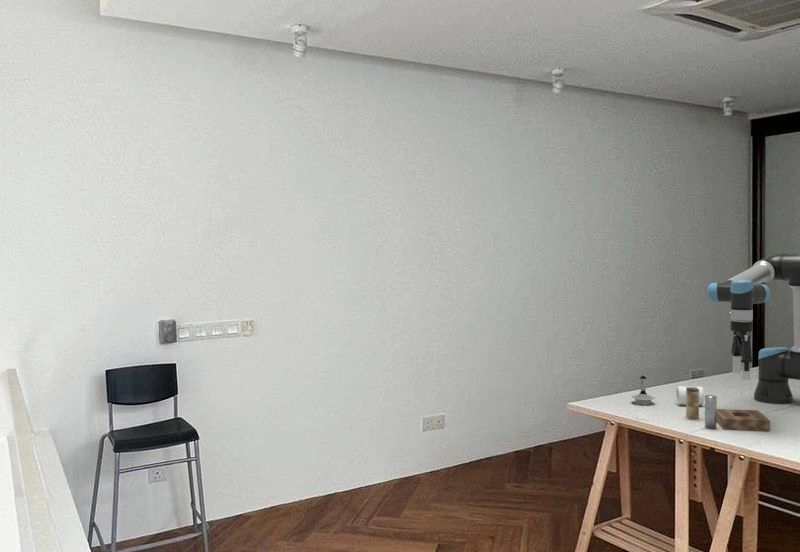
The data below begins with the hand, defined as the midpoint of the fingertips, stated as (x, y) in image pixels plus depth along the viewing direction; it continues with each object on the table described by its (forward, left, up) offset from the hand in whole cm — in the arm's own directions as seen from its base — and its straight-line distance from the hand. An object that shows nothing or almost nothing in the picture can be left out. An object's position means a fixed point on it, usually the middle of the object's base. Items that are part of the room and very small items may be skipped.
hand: (741, 376), depth 266 cm
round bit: (+12, +6, -19) cm, 23 cm away
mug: (+13, -34, -19) cm, 41 cm away
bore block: (0, 0, -19) cm, 19 cm away
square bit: (+16, -8, -19) cm, 26 cm away
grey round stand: (+32, -32, -19) cm, 49 cm away
